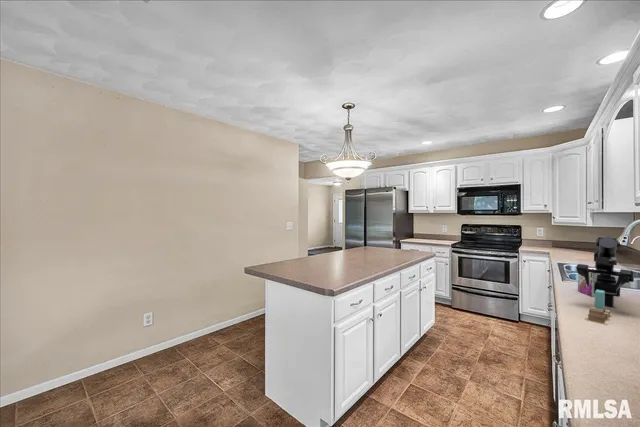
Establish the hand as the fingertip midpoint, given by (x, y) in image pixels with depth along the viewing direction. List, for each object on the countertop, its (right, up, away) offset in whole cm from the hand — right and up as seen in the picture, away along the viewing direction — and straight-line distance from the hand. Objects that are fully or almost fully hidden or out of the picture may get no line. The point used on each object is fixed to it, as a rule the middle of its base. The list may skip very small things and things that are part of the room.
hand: (601, 288), depth 130 cm
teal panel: (-5, -11, -5) cm, 13 cm away
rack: (-7, -12, -6) cm, 15 cm away
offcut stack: (-11, -11, -9) cm, 18 cm away
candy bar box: (+24, -12, +32) cm, 42 cm away
